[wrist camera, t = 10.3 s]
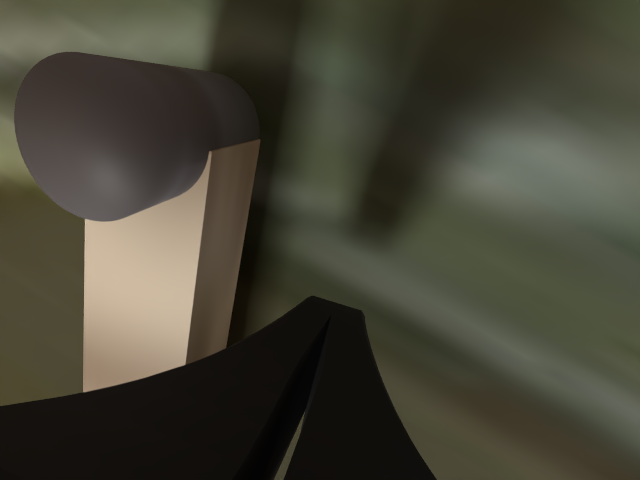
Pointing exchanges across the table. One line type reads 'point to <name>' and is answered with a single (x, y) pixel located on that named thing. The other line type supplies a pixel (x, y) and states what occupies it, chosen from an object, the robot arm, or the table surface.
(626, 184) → the table surface
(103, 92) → the crank
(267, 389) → the robot arm
